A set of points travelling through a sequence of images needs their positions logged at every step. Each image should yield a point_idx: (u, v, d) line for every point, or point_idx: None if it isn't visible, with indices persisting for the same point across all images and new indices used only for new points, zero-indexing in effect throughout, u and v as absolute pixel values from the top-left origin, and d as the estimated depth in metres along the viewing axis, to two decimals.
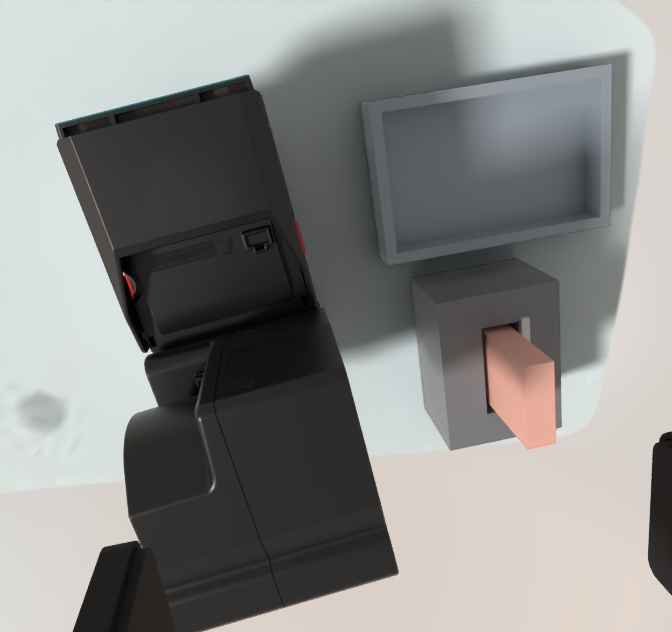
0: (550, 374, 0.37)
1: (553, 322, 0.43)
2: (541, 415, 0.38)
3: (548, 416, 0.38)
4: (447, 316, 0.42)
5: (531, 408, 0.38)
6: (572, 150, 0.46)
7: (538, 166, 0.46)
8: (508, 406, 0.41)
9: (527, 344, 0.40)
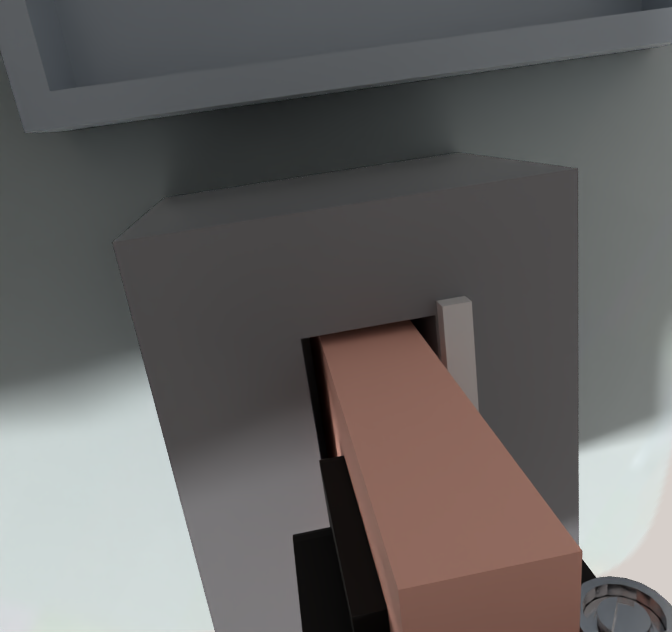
0: (556, 617, 0.07)
1: (557, 320, 0.13)
2: None
3: None
4: (164, 293, 0.11)
5: None
6: None
7: None
8: None
9: (456, 413, 0.09)
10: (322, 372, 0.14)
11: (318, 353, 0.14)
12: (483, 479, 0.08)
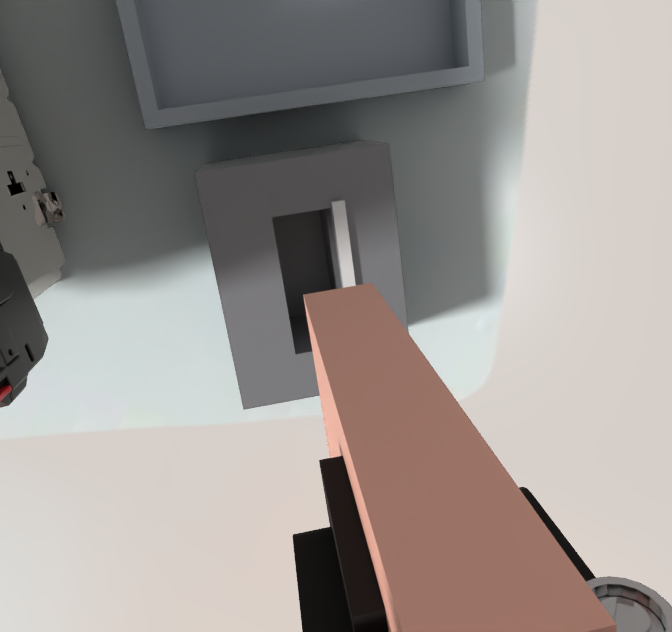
0: None
1: (386, 211, 0.28)
2: None
3: None
4: (214, 195, 0.27)
5: None
6: None
7: None
8: None
9: (471, 455, 0.09)
10: (328, 402, 0.13)
11: (323, 381, 0.14)
12: (503, 535, 0.07)
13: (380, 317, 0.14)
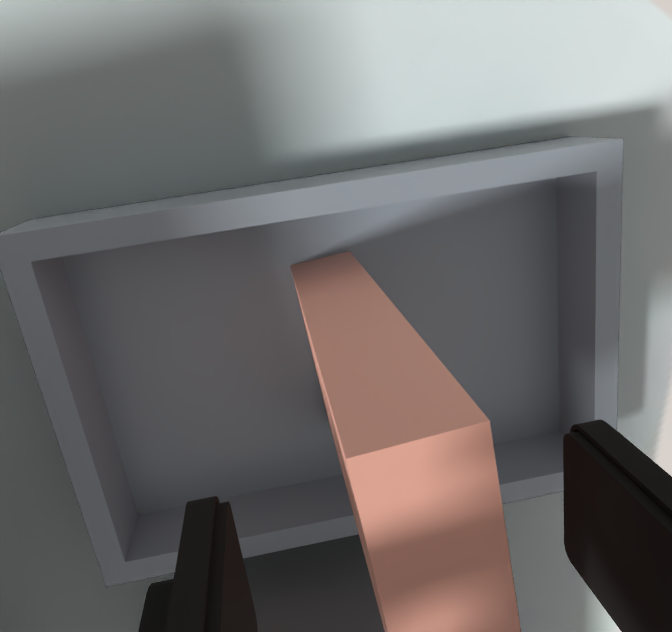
0: (478, 479, 0.08)
1: None
2: None
3: None
4: None
5: (414, 622, 0.09)
6: (533, 313, 0.21)
7: (460, 348, 0.21)
8: (368, 563, 0.12)
9: (409, 347, 0.11)
10: None
11: (307, 329, 0.16)
12: (422, 386, 0.09)
13: (353, 272, 0.17)
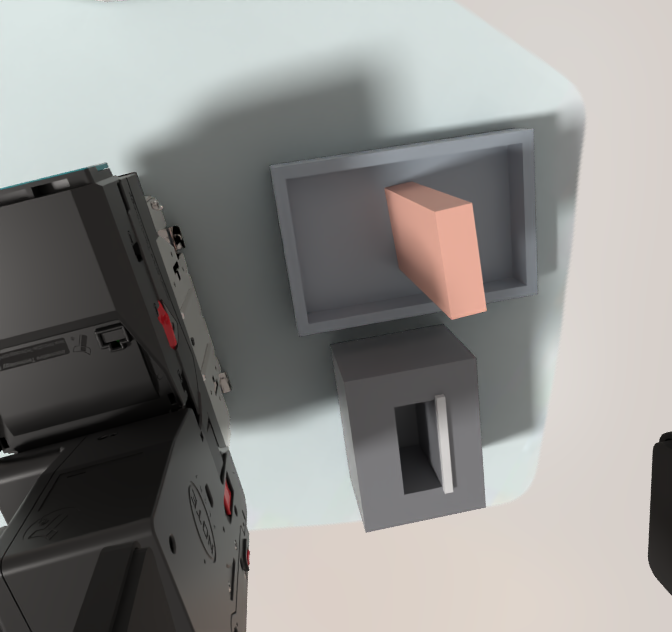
0: (469, 220, 0.30)
1: (472, 400, 0.40)
2: (464, 275, 0.31)
3: (473, 276, 0.31)
4: (356, 395, 0.39)
5: (451, 265, 0.31)
6: (498, 214, 0.43)
7: None
8: (431, 276, 0.34)
9: (447, 197, 0.33)
10: (401, 213, 0.38)
11: (399, 208, 0.38)
12: (453, 201, 0.32)
13: (417, 186, 0.39)
